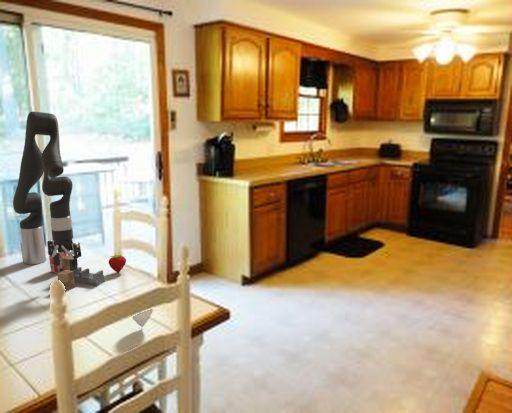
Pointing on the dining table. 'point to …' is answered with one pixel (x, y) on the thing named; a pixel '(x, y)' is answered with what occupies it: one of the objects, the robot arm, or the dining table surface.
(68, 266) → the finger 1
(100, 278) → the rail
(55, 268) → the soda can
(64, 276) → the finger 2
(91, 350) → the dining table surface
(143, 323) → the spinning top
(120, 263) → the strawberry
